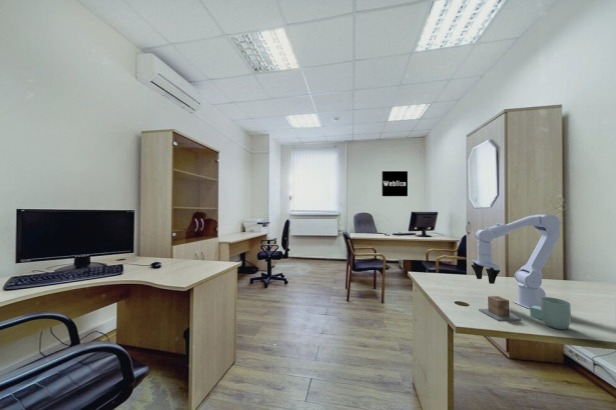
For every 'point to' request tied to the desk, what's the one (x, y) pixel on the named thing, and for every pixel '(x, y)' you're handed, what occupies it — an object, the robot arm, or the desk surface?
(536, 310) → the teal block
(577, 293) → the desk surface
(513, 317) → the slate coaster
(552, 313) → the cup
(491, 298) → the walnut block
